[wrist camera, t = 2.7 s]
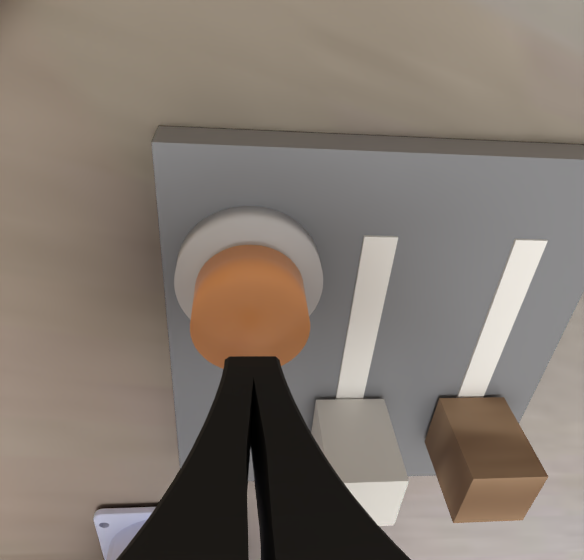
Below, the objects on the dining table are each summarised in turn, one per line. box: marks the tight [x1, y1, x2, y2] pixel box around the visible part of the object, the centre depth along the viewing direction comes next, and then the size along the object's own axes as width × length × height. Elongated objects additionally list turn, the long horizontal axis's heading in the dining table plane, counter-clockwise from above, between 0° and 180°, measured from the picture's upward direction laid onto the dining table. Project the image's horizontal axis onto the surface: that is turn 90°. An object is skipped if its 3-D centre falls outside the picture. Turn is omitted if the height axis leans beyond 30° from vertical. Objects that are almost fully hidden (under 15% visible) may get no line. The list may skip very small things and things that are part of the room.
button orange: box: [190, 245, 310, 369], centre depth 16 cm, size 4×4×2 cm
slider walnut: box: [425, 397, 548, 523], centre depth 22 cm, size 3×3×4 cm
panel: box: [152, 126, 584, 481], centre depth 21 cm, size 17×16×2 cm
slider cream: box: [311, 399, 409, 526], centre depth 21 cm, size 3×3×4 cm
